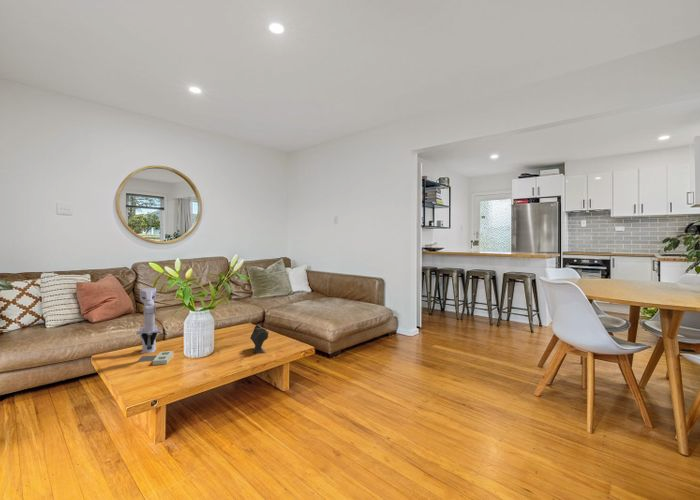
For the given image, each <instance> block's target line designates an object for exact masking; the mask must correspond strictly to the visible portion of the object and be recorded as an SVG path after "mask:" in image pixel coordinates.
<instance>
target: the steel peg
mask: <svg viewBox="0 0 700 500" xmlns="http://www.w3.org/2000/svg"><path fill="white" fill-rule="evenodd" d="M151 343H152V338H151V335H147V350H150V349H152V344H151Z"/></svg>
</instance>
